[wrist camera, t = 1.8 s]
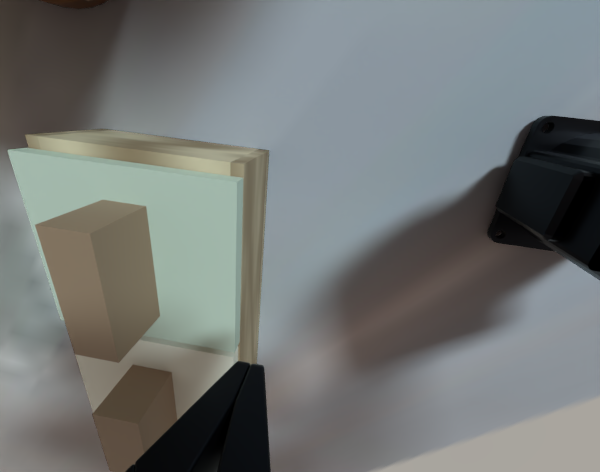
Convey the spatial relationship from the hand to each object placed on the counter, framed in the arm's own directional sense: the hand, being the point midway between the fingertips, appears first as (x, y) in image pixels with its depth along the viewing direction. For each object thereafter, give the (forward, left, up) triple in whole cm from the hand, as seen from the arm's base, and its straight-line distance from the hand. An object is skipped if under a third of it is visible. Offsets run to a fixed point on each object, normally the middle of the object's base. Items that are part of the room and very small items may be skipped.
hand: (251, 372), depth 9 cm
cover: (+7, 0, -5) cm, 9 cm away
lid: (+7, +10, -6) cm, 13 cm away
